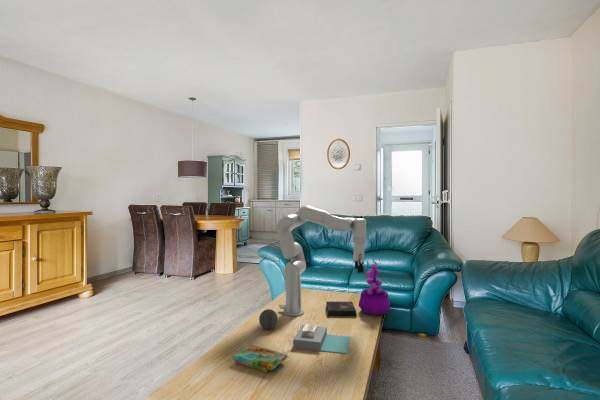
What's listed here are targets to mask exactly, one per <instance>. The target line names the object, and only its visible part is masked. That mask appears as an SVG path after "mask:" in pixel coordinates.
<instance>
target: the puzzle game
mask: <svg viewBox="0 0 600 400" xmlns="http://www.w3.org/2000/svg"><path fill="white" fill-rule="evenodd" d="M288 357H289V356H288V353H287V354H286V353H283V352H280V351H276V350H272V349H269V348H266V347H262V346H259V345H254V344H249V345H247V346H246V347H244V348H242V349H241V350H240V351H238V352H236V353H235V354H233V355H232V359H233V361H235V362H236V363H237V364H238V365H242V366H245V367H249V368H251V369H252V368H253V369H256V370H259V371H262V372H266V373H267V372H268V371H273V370H275V368H276V367H278V366H279V365H280V364H281V363H283V362H284V361H285V360H286V359H287V358H288Z"/></svg>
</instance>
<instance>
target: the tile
mask: <svg viewBox="0 0 600 400" xmlns="http://www.w3.org/2000/svg"><path fill="white" fill-rule="evenodd" d="M304 325H305V326H304V328H303V330H302V336H310V337H314V336H315V334H316V332H317V326H318V325H316V324H308V323H306V324H304Z"/></svg>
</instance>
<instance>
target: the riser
mask: <svg viewBox="0 0 600 400" xmlns="http://www.w3.org/2000/svg"><path fill="white" fill-rule="evenodd" d="M305 325H306V324H301V327H300V328H299V330H298V331H297V333H296V335H294V337H293V340H292V341H293V343H292V345H293V346H292V348H294V349H299V350H300V349H301V350H309V351H317V352H322V351H321V348H322V345H323V343H324V340H325V338H326V335H327V334H328V326H327V327H326V326H318V325H317V332H316V334H315V336H314V337H310V336H302V330H303V328H304V326H305Z"/></svg>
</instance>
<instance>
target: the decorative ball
mask: <svg viewBox="0 0 600 400" xmlns="http://www.w3.org/2000/svg"><path fill="white" fill-rule="evenodd" d="M258 321H259V325H260V326H261V327H262V328H264V329H265V330H270V329H274V327H276V325H277V323H278V321H279V317H278V314H277V312H276V311H274V310H273V309H270V308H267V309H264V310H263V311H262V312H261V313H260V314H259V318H258Z"/></svg>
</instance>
